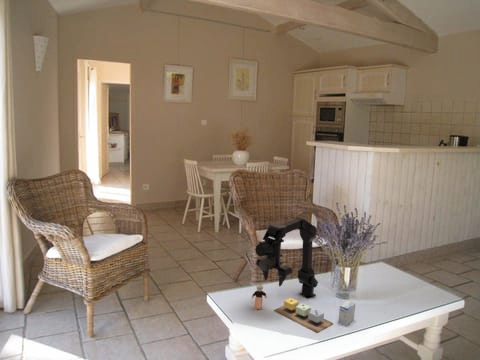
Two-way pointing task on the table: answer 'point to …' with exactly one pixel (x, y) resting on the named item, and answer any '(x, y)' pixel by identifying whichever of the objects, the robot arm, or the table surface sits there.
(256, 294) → the grandmother figurine
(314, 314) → the slate tile
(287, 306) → the mustard tile
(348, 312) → the medicine box
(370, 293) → the table surface
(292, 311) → the button board
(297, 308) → the sage tile
